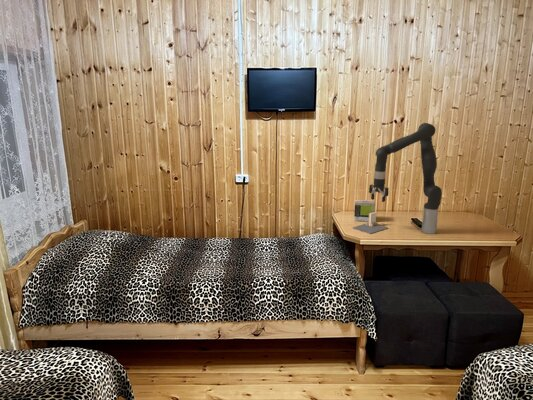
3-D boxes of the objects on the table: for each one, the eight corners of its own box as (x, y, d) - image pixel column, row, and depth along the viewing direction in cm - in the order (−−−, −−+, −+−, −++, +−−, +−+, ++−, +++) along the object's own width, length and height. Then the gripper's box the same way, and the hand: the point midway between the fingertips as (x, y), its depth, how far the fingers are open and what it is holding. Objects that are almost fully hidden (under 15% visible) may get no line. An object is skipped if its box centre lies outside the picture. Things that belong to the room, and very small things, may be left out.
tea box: (373, 218, 297) (375, 200, 293) (374, 222, 287) (375, 203, 284) (354, 217, 300) (355, 199, 297) (353, 221, 291) (354, 202, 287)
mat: (370, 223, 286) (370, 222, 285) (388, 228, 273) (388, 227, 273) (352, 228, 274) (352, 227, 274) (370, 234, 261) (370, 233, 261)
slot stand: (371, 222, 284) (371, 220, 283) (378, 224, 279) (378, 222, 279) (365, 224, 280) (365, 222, 279) (371, 226, 275) (372, 224, 275)
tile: (373, 223, 282) (374, 212, 280) (375, 224, 281) (376, 212, 278) (368, 225, 279) (368, 213, 276) (370, 225, 277) (371, 214, 275)
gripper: (392, 178, 256) (390, 201, 260) (374, 175, 267) (372, 197, 271) (385, 179, 252) (383, 203, 256) (367, 176, 263) (366, 199, 267)
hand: (377, 200), depth 263 cm, fingers open, 8 cm apart
